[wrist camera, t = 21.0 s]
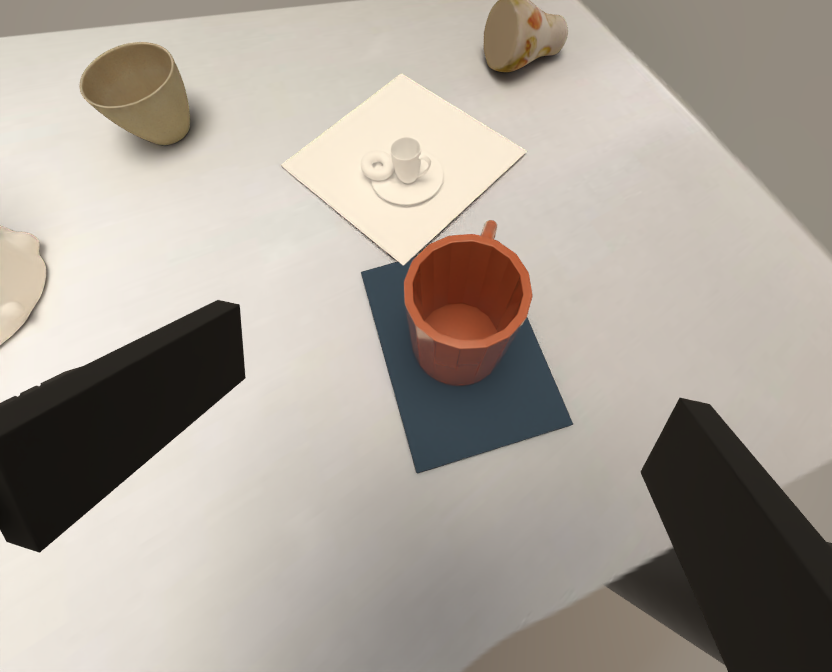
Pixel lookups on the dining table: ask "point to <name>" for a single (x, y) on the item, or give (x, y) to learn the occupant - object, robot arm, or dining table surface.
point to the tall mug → (465, 305)
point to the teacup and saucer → (403, 165)
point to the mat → (461, 387)
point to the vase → (18, 279)
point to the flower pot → (139, 91)
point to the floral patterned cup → (521, 34)
